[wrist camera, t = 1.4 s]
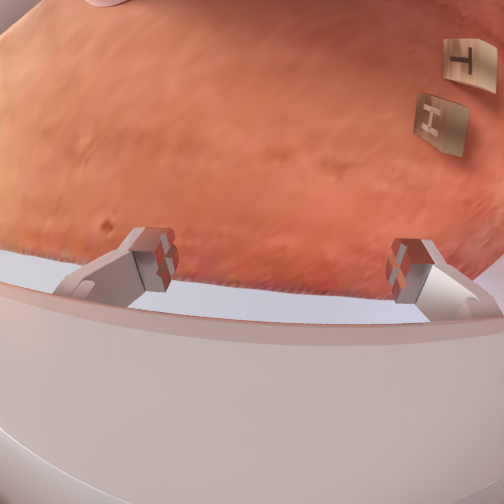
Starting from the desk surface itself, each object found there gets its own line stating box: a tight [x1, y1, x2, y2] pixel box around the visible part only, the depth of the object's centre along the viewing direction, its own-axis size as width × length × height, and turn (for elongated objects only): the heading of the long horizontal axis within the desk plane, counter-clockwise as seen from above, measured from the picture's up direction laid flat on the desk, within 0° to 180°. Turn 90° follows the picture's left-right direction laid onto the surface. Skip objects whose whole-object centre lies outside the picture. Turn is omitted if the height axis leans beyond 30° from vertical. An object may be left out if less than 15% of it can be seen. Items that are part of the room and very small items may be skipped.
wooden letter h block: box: [413, 92, 470, 157], centre depth 25 cm, size 6×3×8 cm, turn 3°
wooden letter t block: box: [443, 39, 497, 94], centre depth 19 cm, size 6×3×8 cm, turn 3°
